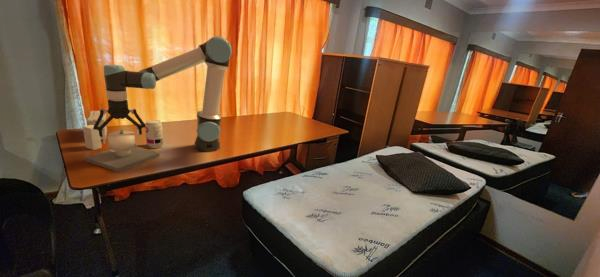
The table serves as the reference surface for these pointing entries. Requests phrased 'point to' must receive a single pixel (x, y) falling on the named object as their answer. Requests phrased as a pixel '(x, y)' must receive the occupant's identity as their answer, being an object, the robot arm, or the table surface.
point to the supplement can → (154, 133)
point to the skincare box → (92, 137)
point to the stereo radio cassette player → (93, 118)
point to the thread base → (121, 158)
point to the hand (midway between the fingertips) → (122, 141)
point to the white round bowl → (121, 140)
